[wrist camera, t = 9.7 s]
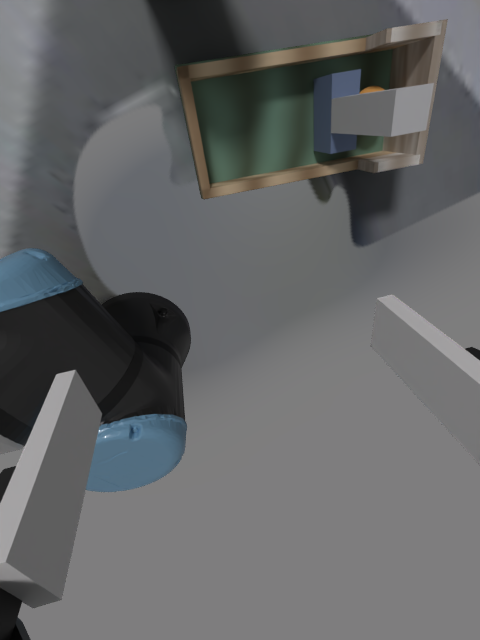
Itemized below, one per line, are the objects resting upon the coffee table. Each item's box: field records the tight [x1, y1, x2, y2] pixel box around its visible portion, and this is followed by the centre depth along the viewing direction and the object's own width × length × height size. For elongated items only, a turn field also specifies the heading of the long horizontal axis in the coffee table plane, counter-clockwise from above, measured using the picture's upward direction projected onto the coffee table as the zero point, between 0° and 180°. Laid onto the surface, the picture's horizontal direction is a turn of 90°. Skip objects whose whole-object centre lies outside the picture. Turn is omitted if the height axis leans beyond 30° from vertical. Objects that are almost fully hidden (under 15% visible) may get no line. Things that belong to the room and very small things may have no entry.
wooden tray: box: [175, 19, 448, 199], centre depth 34 cm, size 25×13×8 cm, turn 98°
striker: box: [314, 69, 434, 154], centre depth 30 cm, size 3×7×15 cm, turn 8°
